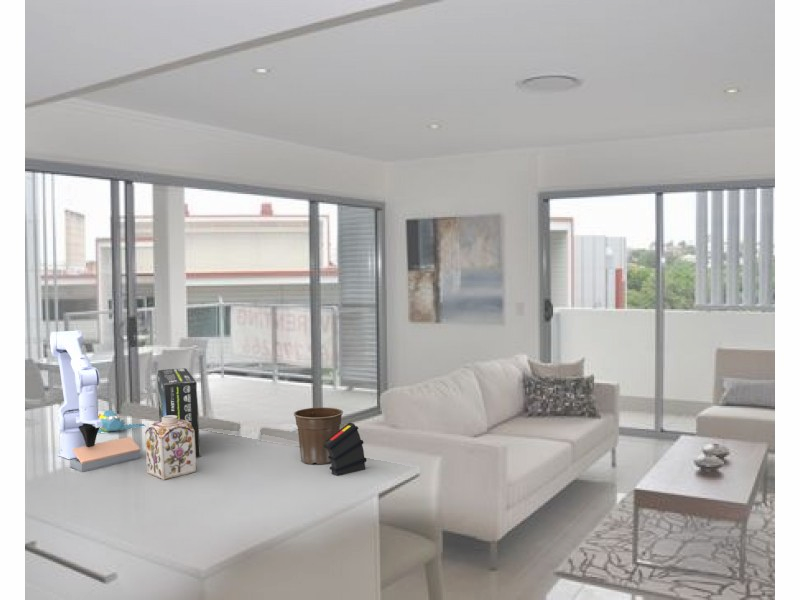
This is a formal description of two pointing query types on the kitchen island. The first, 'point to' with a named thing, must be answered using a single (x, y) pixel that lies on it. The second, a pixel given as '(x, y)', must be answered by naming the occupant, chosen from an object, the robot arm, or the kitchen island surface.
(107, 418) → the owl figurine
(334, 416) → the plant pot
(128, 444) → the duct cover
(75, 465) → the cable duct
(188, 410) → the router box
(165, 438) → the decorative jar
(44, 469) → the kitchen island surface
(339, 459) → the magazine
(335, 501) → the kitchen island surface
